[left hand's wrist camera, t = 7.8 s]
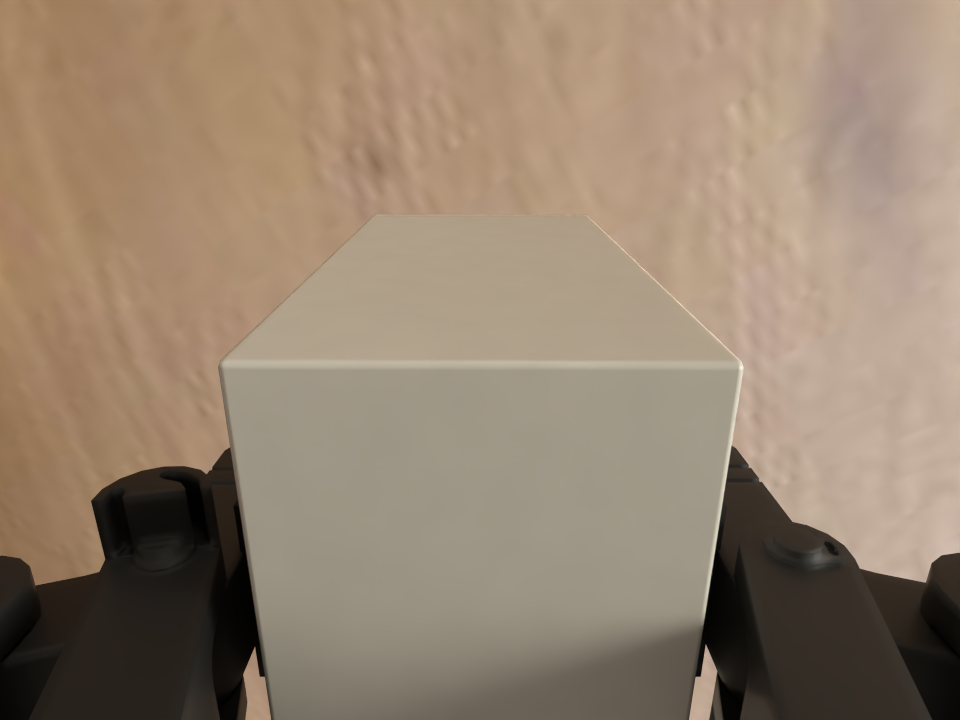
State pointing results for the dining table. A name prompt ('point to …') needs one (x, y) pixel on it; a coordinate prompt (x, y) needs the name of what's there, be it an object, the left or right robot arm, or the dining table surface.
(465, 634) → the bar
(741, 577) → the left robot arm
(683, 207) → the dining table surface
